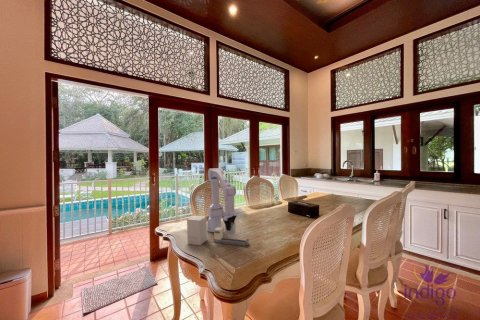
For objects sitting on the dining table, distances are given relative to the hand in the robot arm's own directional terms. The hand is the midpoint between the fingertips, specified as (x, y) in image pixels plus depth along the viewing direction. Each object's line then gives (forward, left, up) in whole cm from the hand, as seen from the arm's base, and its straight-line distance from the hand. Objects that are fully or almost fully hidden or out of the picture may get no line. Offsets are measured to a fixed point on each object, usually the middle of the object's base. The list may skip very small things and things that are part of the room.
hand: (230, 228), depth 125 cm
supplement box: (-20, -4, -9) cm, 22 cm away
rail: (0, 0, -9) cm, 9 cm away
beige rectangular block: (-8, 0, -7) cm, 10 cm away
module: (0, 0, -3) cm, 3 cm away
